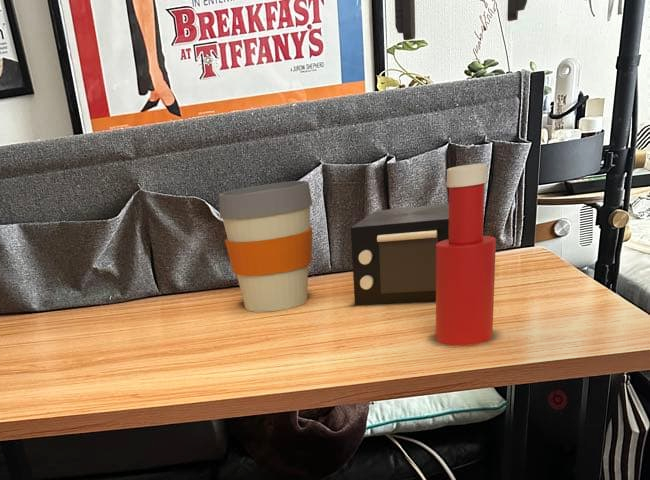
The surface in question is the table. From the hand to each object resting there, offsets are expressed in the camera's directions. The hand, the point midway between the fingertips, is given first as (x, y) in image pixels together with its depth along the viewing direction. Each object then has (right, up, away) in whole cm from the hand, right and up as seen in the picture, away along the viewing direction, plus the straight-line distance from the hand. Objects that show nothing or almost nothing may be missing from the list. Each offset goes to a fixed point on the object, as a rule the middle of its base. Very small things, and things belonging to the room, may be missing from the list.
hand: (459, 30), depth 62 cm
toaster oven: (+4, -11, +35) cm, 37 cm away
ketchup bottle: (+4, -23, +13) cm, 27 cm away
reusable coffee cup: (-14, -10, +41) cm, 45 cm away
